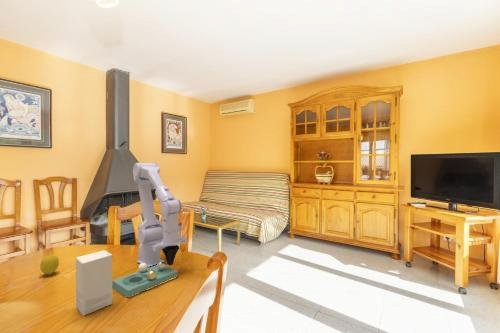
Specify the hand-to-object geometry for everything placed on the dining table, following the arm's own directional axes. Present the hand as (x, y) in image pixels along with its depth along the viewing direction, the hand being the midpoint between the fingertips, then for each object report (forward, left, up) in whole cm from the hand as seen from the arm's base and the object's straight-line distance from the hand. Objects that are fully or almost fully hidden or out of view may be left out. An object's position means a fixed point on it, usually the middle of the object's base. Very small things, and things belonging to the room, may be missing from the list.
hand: (170, 264), depth 98 cm
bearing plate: (0, -10, -3) cm, 11 cm away
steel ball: (0, -4, +1) cm, 4 cm away
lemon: (-34, -30, -4) cm, 45 cm away
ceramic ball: (-4, -9, +1) cm, 10 cm away
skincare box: (+2, -28, -4) cm, 28 cm away
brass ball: (+4, -10, +1) cm, 11 cm away
